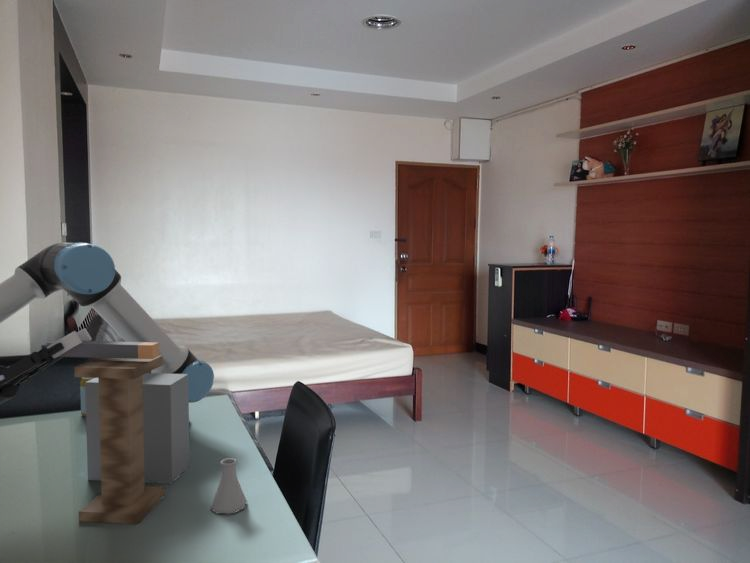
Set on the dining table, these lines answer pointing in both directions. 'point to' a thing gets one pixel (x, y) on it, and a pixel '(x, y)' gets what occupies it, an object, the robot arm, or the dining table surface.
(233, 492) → the flask
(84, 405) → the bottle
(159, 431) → the block
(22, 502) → the dining table surface
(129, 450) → the stand
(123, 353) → the grey long bar
